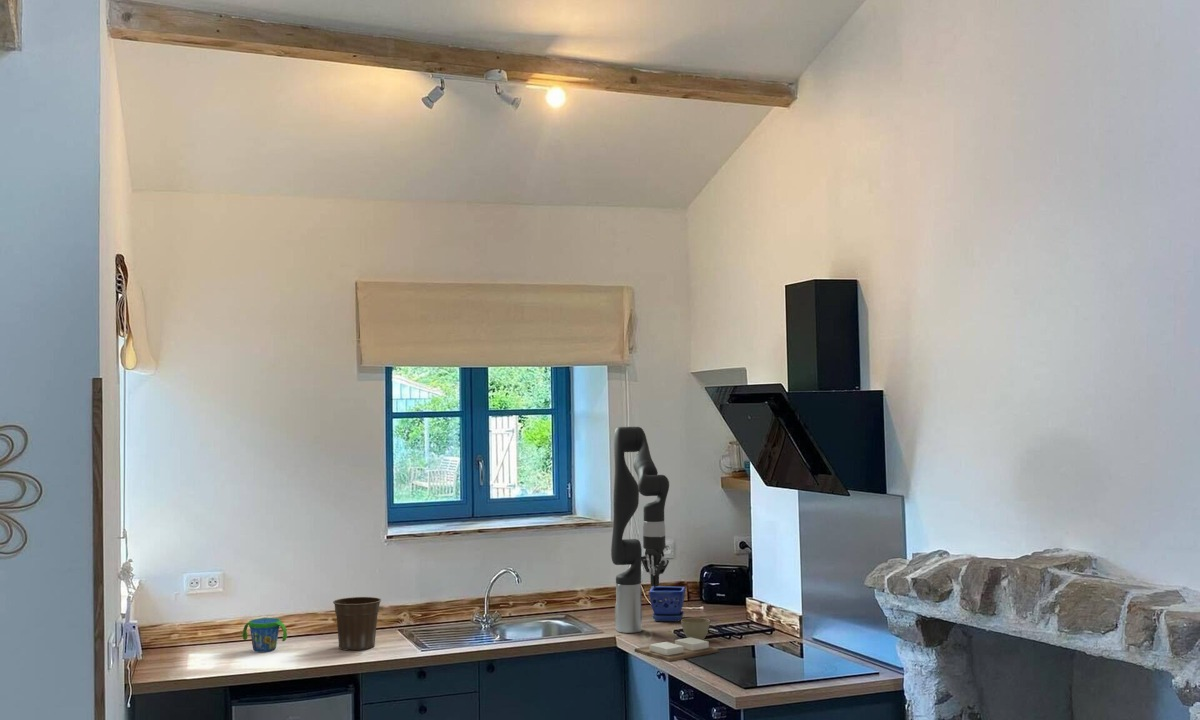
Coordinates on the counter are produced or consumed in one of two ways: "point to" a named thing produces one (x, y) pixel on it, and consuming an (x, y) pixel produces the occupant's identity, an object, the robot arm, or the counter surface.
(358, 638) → the plant pot
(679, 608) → the flower pot
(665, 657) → the board
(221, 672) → the counter surface
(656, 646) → the tile near
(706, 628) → the flower pot
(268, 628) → the snack cup
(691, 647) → the tile far
